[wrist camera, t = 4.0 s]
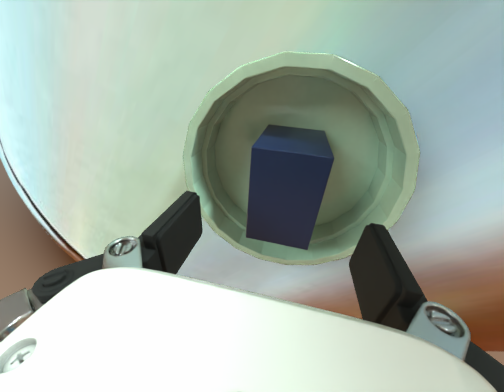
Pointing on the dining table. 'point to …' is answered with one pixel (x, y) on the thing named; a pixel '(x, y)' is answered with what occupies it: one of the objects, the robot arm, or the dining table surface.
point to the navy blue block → (287, 184)
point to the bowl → (309, 117)
